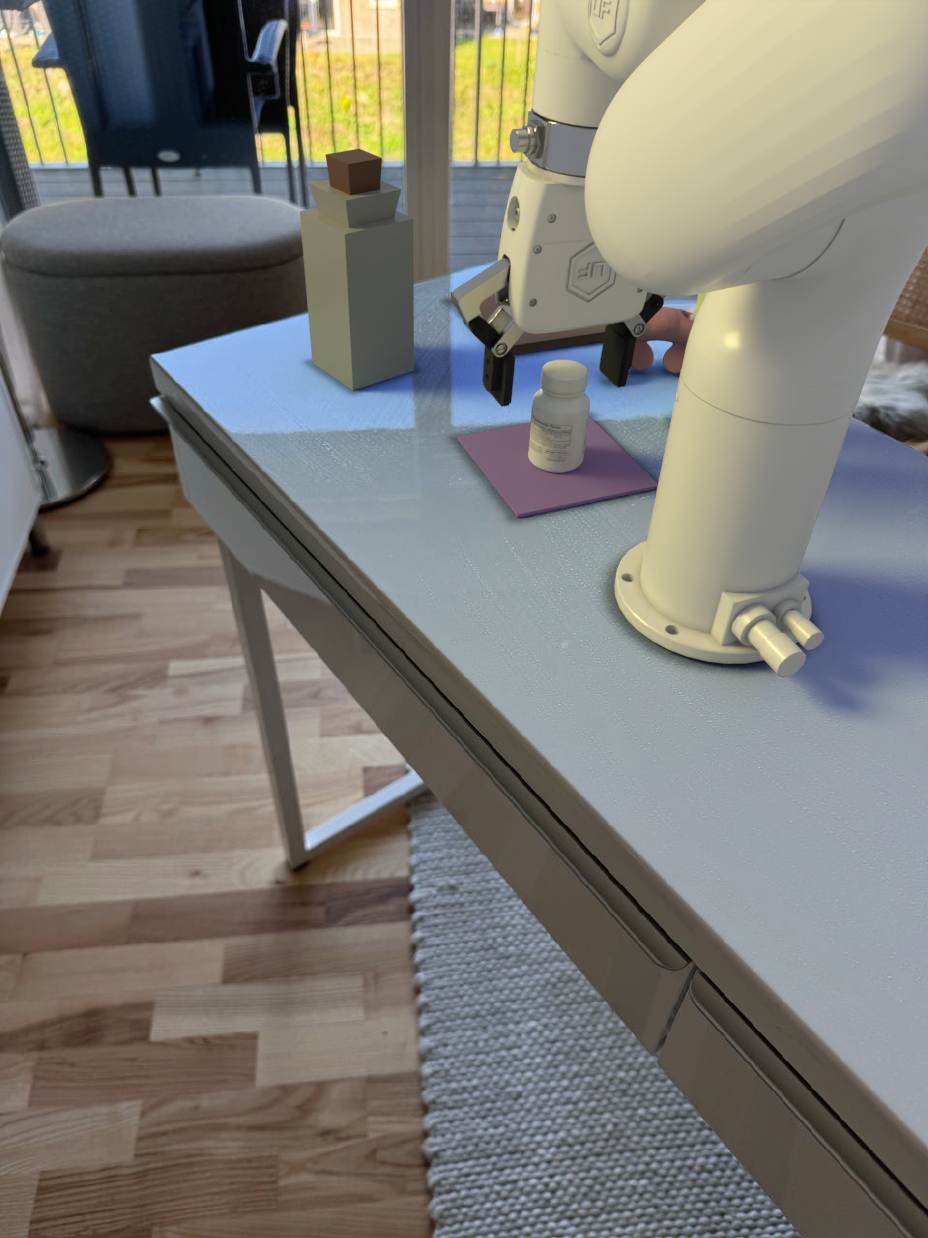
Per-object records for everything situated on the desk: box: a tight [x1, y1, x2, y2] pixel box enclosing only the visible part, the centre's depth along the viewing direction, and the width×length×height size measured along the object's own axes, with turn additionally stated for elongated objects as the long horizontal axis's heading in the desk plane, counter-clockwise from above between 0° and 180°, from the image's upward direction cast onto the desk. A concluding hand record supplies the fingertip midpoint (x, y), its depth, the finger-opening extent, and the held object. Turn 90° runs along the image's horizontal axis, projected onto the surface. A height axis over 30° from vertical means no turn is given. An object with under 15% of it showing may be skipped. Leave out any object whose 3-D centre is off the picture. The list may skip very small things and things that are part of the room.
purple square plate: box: [456, 415, 658, 519], centre depth 73 cm, size 12×12×1 cm
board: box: [450, 291, 607, 356], centre depth 94 cm, size 14×12×1 cm
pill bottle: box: [528, 359, 591, 473], centre depth 70 cm, size 4×4×8 cm
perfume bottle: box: [299, 148, 415, 392], centre depth 79 cm, size 7×7×18 cm
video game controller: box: [608, 306, 695, 383], centre depth 84 cm, size 10×5×7 cm, turn 84°
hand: (556, 387), depth 70 cm, fingers open, 9 cm apart
